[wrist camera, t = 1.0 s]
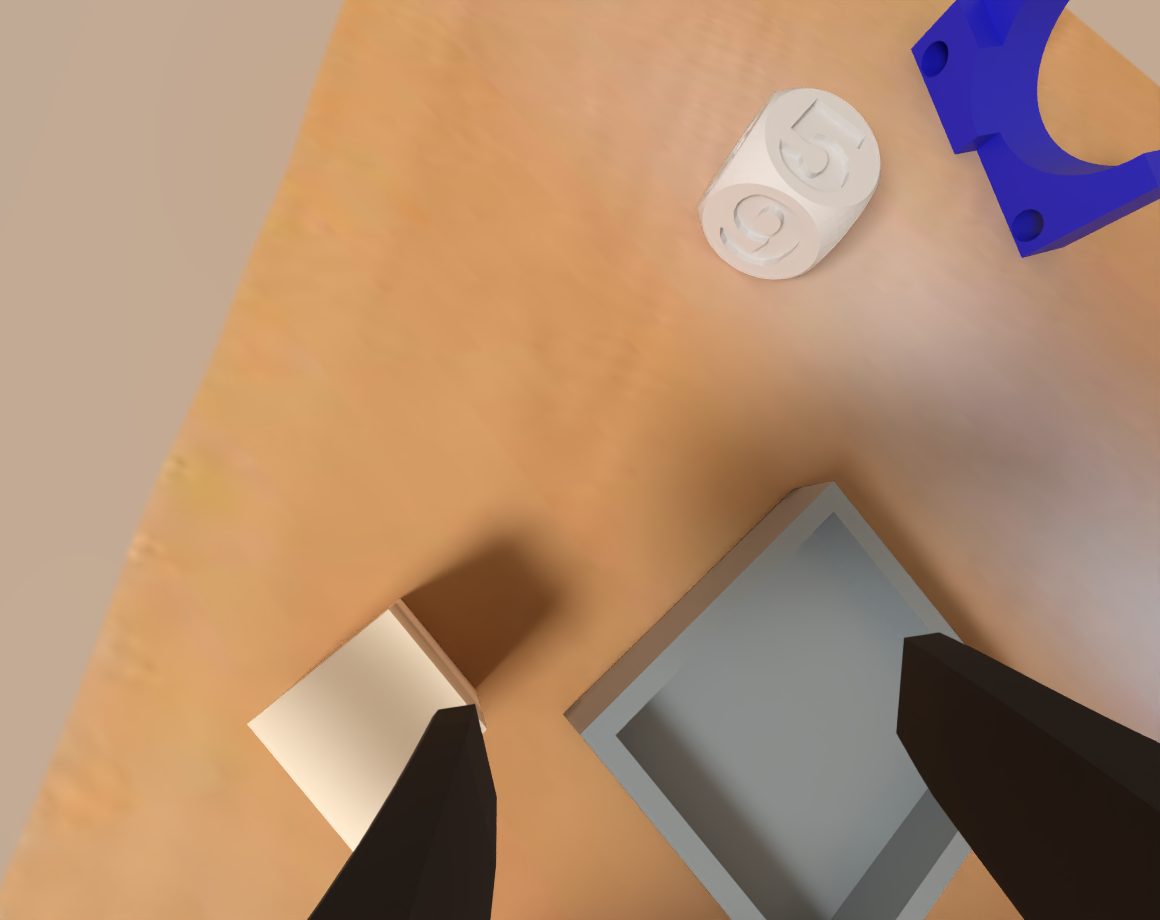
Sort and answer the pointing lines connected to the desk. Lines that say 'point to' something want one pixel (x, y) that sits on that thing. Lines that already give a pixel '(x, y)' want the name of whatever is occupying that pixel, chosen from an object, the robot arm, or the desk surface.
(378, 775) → the block
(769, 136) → the die
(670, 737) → the tray
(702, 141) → the desk surface
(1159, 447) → the desk surface
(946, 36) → the blue curved piece
